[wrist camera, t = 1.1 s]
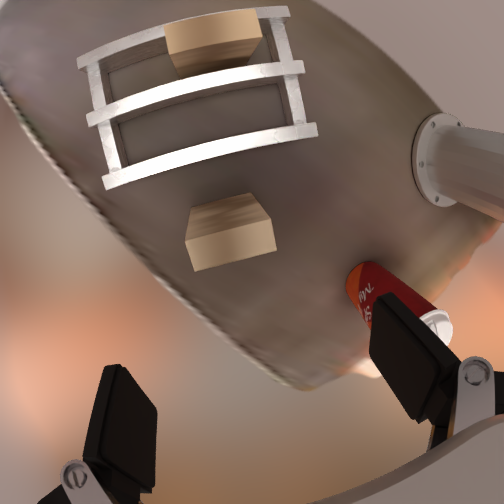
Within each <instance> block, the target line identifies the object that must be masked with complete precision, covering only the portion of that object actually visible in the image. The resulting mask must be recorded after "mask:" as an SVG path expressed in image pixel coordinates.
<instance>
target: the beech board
mask: <svg viewBox="0 0 504 504" xmlns="http://www.w3.org/2000/svg"><path fill="white" fill-rule="evenodd" d="M185 244H186V247H187V250H188V253H189V256H190V259H191V262H192V265H193V268H194V271H199V270H203V269H207V268H211V267H215V266H218V265H222V264H226V263H230V262H234V261H238V260H242V259H246V258H249V257H253V256H257V255H261V254H265V253H269V252H273V251H276V250H277V248H276V243H275V238H274V233H273V227H272V222H271V218H270V217H269V216H268V214H267V213H266V212H265V210H264V209H263V208H262V206H261V205H260V204H259V202H258V201H257V200H256V199H255V197H254V196H253V195H252V193H251V192H250V193H246V194H241V195H237V196H233V197H229V198H225V199H221V200H217V201H214V202H210V203H206V204H202V205H199V206H195V207H191V211H190V216H189V221H188V226H187V231H186V237H185Z"/></svg>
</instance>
